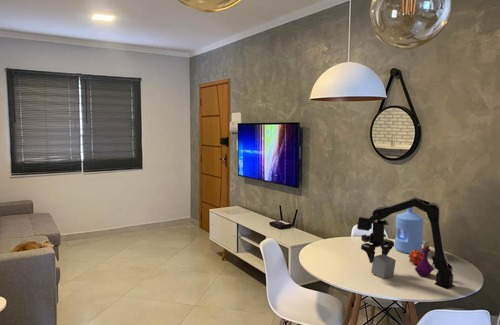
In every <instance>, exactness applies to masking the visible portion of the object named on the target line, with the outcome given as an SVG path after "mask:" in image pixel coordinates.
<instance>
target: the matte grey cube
mask: <svg viewBox="0 0 500 325" xmlns="http://www.w3.org/2000/svg"><path fill="white" fill-rule="evenodd" d="M396 261H397V260H396V259H395V258H392V257H390V256H388V254H387V255H384V254H382V253H381V254H379V255H374V259H373V262H372V263H371V271H370V272H371V273H372V274H374V275H375V276H377V277H378V278H380V279H382V280H385V279H388V278H392V277H394V275H395V267H396Z"/></svg>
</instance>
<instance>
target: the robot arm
mask: <svg viewBox="0 0 500 325" xmlns="http://www.w3.org/2000/svg"><path fill="white" fill-rule="evenodd" d="M411 207H413V208H417V209H418V210H420V211H422V212H425V213H426V215H427V219H428V221H429V222H430V228H431V233H432V240H433V247H434V252H432V253H431V259H432V266H434V267H433V268H434V269H436V270H437V271H436V275H435V282H434V285H437V286H439V287H441V288H443V289H447V290H448V289H450V288H454V287H455V284H454V274H453V266H452V265H451V264H450V263H449V261H448V257H447V255H446V253H445V250H444V246H443V239H442V232H441V225H440V215H441V213H440V211H441V206H440V205H439V204H438V203H437V202H434V201H433V202H431V201H427V200H424V199H422V198H419V197H416V196H415V197H412V198H409V199H406V200H404V201H401V202H398V203H395V204H392V205H388V206H386V205H385V206H378V207H376V208H375V209H373V212H372V215H371V216H370V217H364V216H359V217H358V220H357V224H356V225H357V226H356V227H357V230H359V231H367V232H369V231H370V230H372V232H370V233H369V235H367V234H362V235H361V239H360V240H361V241H362V242H364V243H362V244H361V245H360V246H361V247H360V249H361V251H363V252H365V253H366V256H367V257H368V260H369V263H370V264H372V263H373V259H374V256H376V255H375V254H376V248H379V247H380V249H381V254H384V255H387V256H388V254H389V253H390V251H391V250H392V249H393V248H395V241H393V240H391V239H387V238H386V237H387V234H385V226H388V225H389V224H390V223H389V222H388V220H387V219H386V218H388V217H389V216H391V215H393V214H396V213H398V212H402V211H404V210H405V211H406V210H407V209H408V208H411ZM383 219H384V220H383Z"/></svg>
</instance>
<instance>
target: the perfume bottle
mask: <svg viewBox="0 0 500 325" xmlns="http://www.w3.org/2000/svg"><path fill="white" fill-rule="evenodd" d="M428 244H429V241H427V240H422V252H423V258H422V261H421V262H420V263H419V264H418V266H416V267H415V268H414V270H415V272H416V273H417V274H418V275H419V276H421V277H429V276H430V275H431V273H432V272H433V271H434V269H435V267H433V265H431V264H430V262H429V258H428V255H429V252H431V249H430V245H428Z"/></svg>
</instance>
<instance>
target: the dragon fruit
mask: <svg viewBox="0 0 500 325" xmlns="http://www.w3.org/2000/svg"><path fill="white" fill-rule="evenodd" d="M423 255H424V252H423V251H421V252H420V251H419V250H413V251H411V252H410V254H408V258H409V259H408V260H409V262H410V263H413V265H415V266H416V267H417V266H418V264H419V263H420V262H421V261H422V258H423Z"/></svg>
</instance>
